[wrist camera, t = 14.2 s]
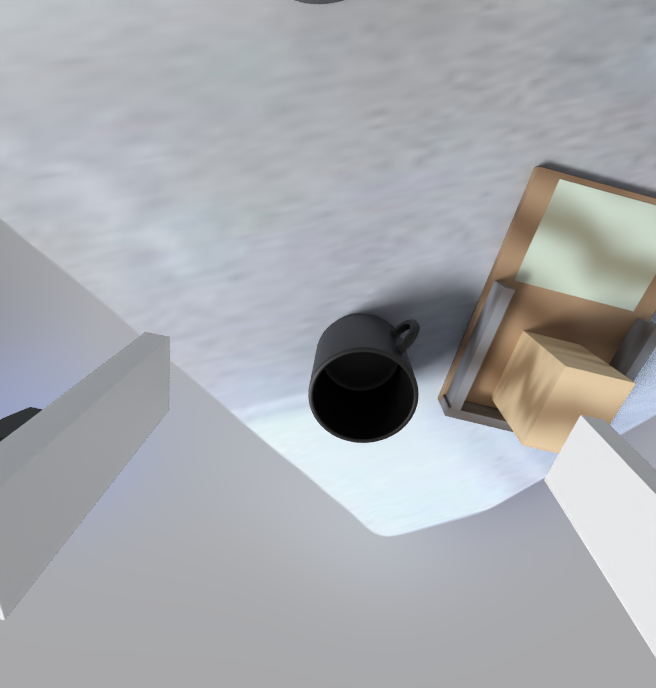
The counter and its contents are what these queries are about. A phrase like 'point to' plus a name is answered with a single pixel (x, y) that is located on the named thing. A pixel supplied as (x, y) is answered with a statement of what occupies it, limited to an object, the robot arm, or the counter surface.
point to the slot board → (561, 287)
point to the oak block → (556, 390)
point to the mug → (364, 379)
